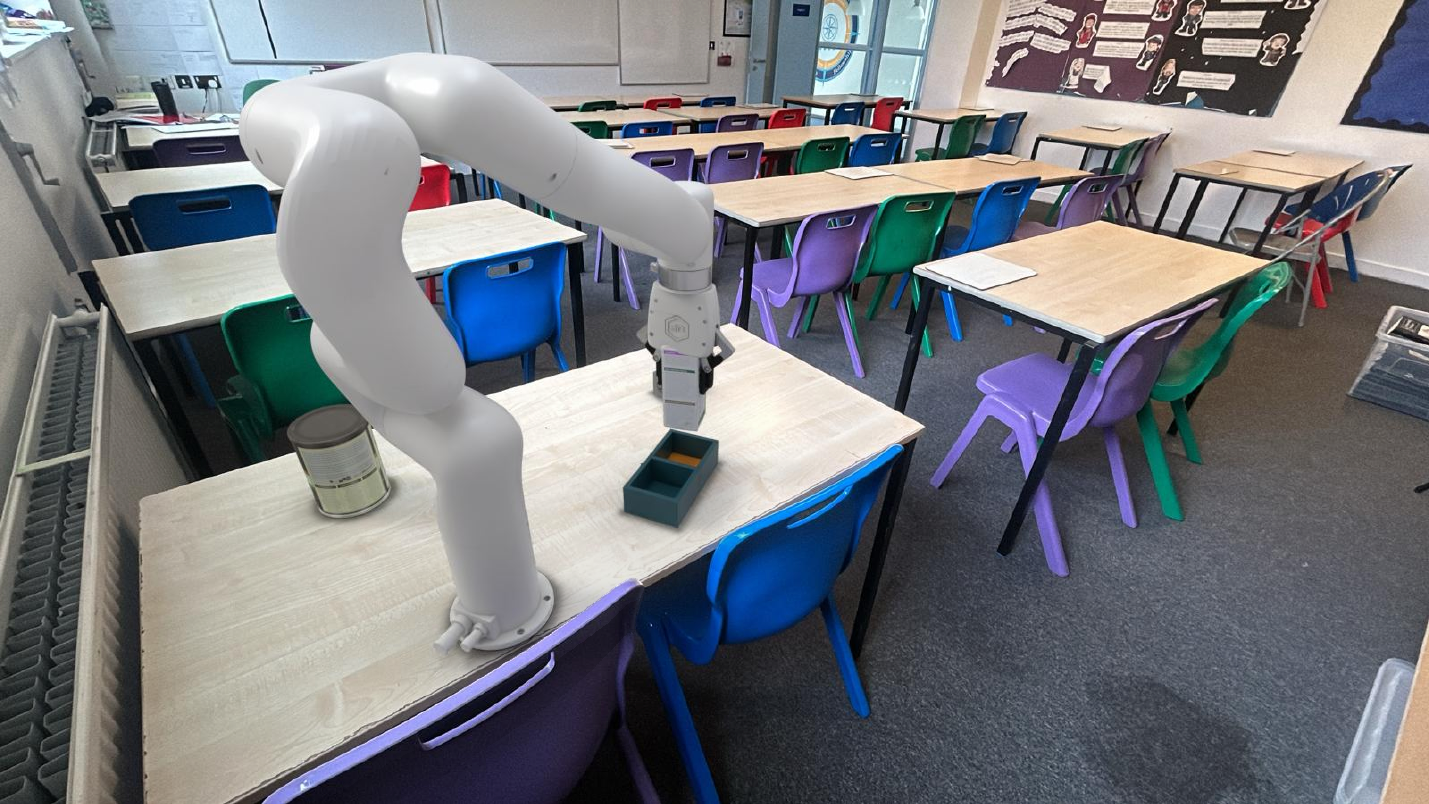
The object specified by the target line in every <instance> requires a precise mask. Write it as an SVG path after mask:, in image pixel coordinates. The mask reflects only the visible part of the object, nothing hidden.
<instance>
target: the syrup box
mask: <svg viewBox="0 0 1429 804" xmlns="http://www.w3.org/2000/svg"><path fill="white" fill-rule="evenodd" d="M661 357H662V392H663V399H662V418H663V419H662V420H663V421H662V422H663V423H662V424H663V427H665V428H669V429H674V430H679V431H688V432H689V431H690V432H696V433H697V432H698V431H699V429H700V427H701V424H702V422H703V420H704V417H705V415H706V413H707V412H706V405H707V401H706V400H707V399H706V398H707V392H706V393H705V394H704V395H702V394H700V393H699V381H700V371H701V370H702V369H703V367H702V365H701V362H700V360H699V358H697V357H692V356H688V355H684V354H680V353H678V352H677V350H676V349H674V348H672V347H671V346H662V347H661Z"/></svg>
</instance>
